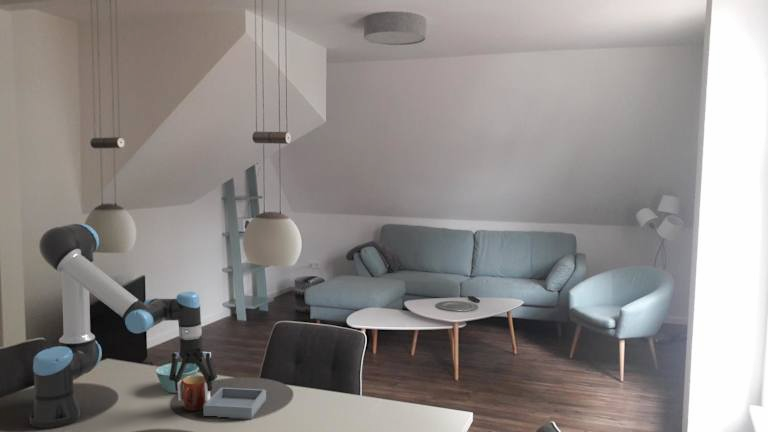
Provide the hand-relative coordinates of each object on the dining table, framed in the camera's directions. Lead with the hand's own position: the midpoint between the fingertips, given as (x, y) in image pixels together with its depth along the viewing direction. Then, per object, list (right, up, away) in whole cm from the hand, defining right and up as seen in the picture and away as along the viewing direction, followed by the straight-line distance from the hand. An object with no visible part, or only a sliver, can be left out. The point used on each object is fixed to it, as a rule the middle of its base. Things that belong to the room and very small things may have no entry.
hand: (194, 399), depth 223 cm
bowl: (-12, -2, +21) cm, 24 cm away
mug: (-1, -4, +1) cm, 4 cm away
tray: (+14, -4, +3) cm, 15 cm away
